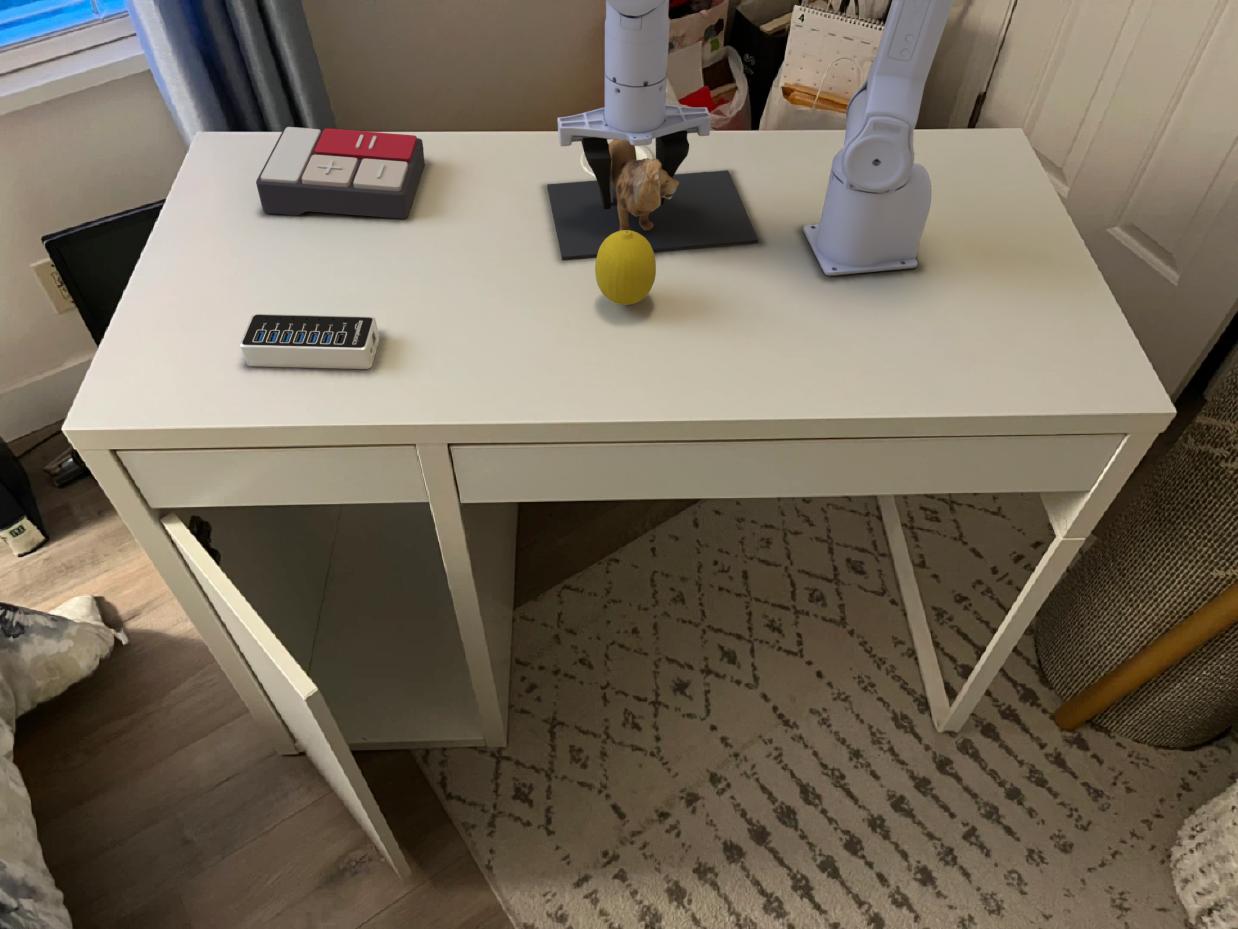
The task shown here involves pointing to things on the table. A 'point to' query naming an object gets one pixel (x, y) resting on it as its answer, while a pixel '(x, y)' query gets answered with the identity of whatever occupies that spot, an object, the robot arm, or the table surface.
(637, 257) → the lemon
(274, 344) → the multiport hub
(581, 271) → the table surface
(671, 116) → the robot arm
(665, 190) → the lion figurine
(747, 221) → the desk mat
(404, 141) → the button control box
